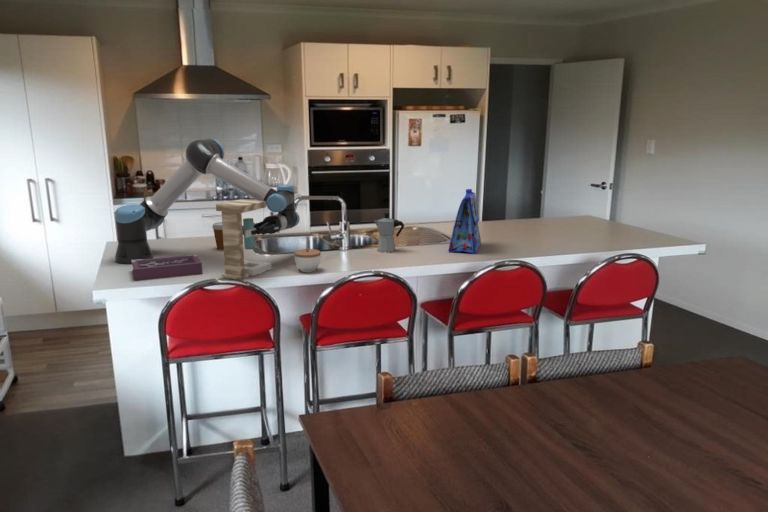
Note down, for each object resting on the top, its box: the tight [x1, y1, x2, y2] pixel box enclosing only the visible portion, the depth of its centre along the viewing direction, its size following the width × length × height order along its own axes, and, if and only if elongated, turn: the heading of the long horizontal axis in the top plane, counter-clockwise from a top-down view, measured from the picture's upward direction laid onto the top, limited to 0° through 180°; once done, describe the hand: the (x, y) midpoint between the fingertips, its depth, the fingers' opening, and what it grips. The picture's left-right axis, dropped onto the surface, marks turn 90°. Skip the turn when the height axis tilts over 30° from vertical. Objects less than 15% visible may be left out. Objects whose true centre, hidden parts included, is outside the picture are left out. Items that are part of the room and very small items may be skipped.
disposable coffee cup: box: [211, 221, 224, 251], centre depth 274 cm, size 10×10×12 cm
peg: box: [242, 217, 256, 250], centre depth 232 cm, size 4×4×12 cm
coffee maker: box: [373, 212, 405, 254], centre depth 271 cm, size 15×9×18 cm, turn 73°
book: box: [131, 253, 203, 282], centre depth 233 cm, size 25×16×5 cm, turn 115°
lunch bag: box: [448, 188, 482, 255], centre depth 275 cm, size 22×14×29 cm, turn 164°
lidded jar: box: [293, 247, 322, 273], centre depth 236 cm, size 11×11×9 cm
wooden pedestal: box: [215, 198, 267, 280], centre depth 229 cm, size 16×12×28 cm
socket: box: [244, 259, 272, 277], centre depth 236 cm, size 12×12×2 cm
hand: (240, 233), depth 227 cm, fingers closed on peg, 4 cm apart
